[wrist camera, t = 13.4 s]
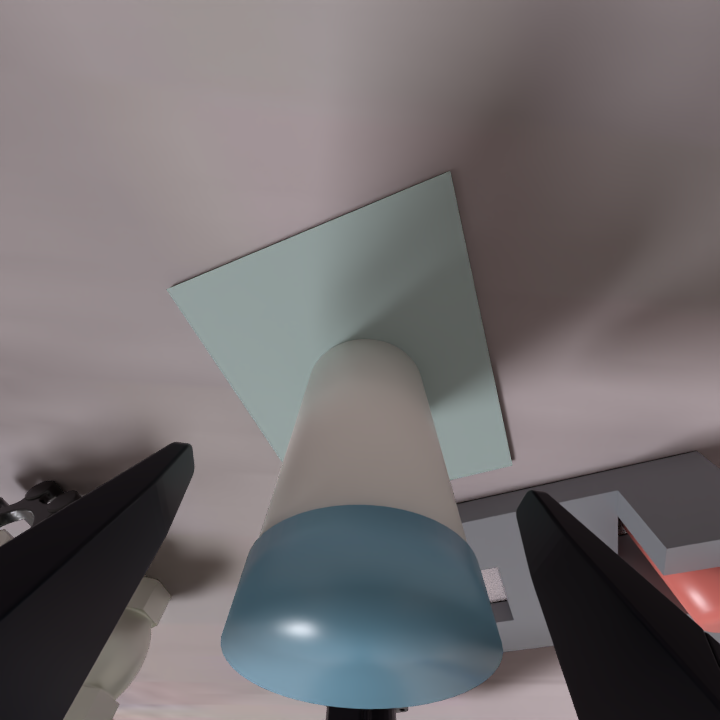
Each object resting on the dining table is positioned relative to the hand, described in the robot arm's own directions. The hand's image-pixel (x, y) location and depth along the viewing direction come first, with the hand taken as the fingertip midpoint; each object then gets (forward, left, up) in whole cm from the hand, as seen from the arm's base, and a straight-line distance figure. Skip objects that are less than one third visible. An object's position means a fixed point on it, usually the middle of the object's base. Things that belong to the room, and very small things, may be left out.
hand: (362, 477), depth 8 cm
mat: (0, 0, -5) cm, 5 cm away
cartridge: (0, 0, -4) cm, 4 cm away
